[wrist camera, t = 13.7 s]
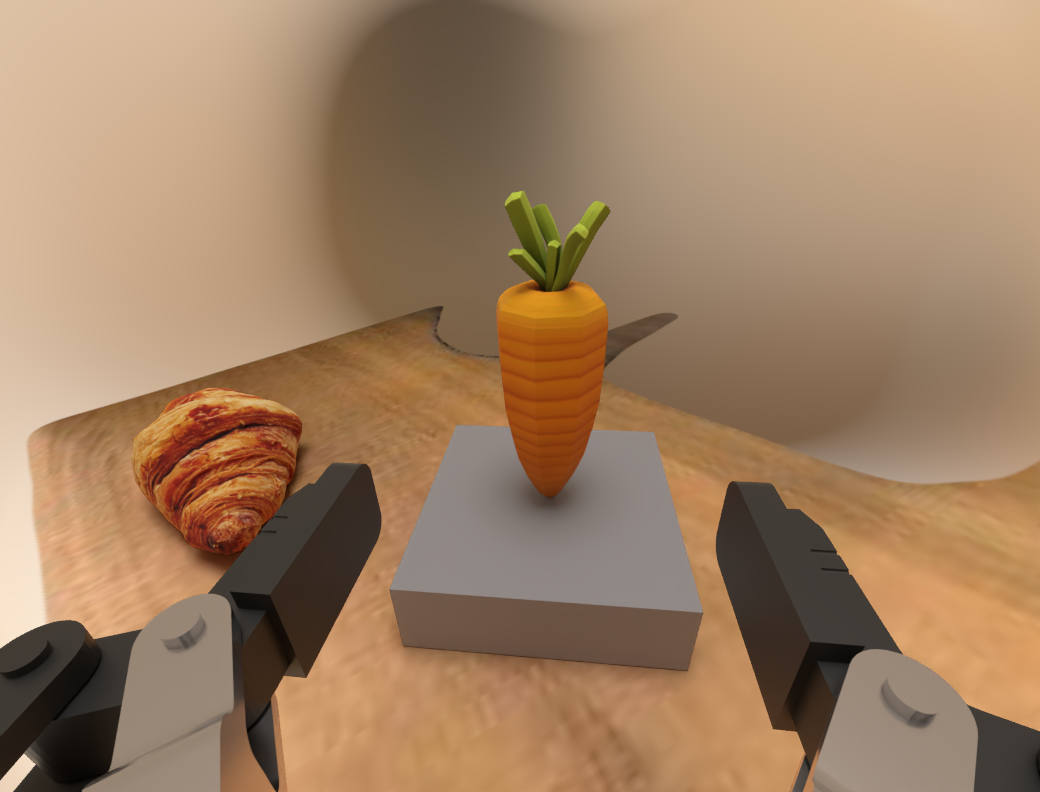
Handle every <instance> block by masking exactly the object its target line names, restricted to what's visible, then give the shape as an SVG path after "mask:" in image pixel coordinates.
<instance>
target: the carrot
mask: <svg viewBox="0 0 1040 792" xmlns="http://www.w3.org/2000/svg"><path fill="white" fill-rule="evenodd" d="M505 208H506V210H507V212H508V215H509V217H510V220H511V222H512V225H513V227H514V229H515V231H516V233H517V234H518V237H519V239H520V241H521V243H522V246H523V247H524V249H512V250H511V251H510V252H509V257H510V258H511V259H512V260H513V261H514V262H515V263H517V265H519V266H520V267H521V268H522V269H523V270H524V271H525V272H526V273H527V274H528V275H529V276H530V277H531V278H532V279H533V280H530V281H527V282H524V283H522V284H518V285H515V286H513V287H511V288H509V289H507V290H506V291H505V292H504V293H503V294H502V295H501V296H500V297H499V299H498V303H497V313H496V314H497V315H496V316H497V329H498V341H499V354H500V363H501V373H502V382H503V391H504V399H505V408H506V412H507V416H508V421H509V425H510V430H511V434H512V437H513V441H514V445H515V448H516V452H517V455H518V458H519V460H520V462H521V464H522V466H523V468H524V470H525V472H526V474H527V476H528V478H529V479H530V481H531V482H532V483H533V485H534V486H535V488H536V489H537V490H538V492H539V493H540V494H542V495H544V496H546V497H548V498H551V497H554V496H556V495H557V494H558V493H559V492H560V491H561V490H562V489H563V487H564V486H565V485H566V483H567V482H568V480H569V479H570V478H571V476H572V475H573V474H574V472H575V470H576V468H577V466H578V464H579V463H580V461H581V459H582V457H583V455H584V453H585V450H586V447H587V444H588V441H589V437H590V434H591V431H592V428H593V424H594V420H595V416H596V412H597V409H598V405H599V400H600V393H601V385H602V377H603V370H604V362H605V351H606V341H607V331H608V313H607V309H606V305H605V303H604V302H603V301H602V300H601V299H600V298H599V296H598V295H597V294H596V293H595V292H594V291H593V289H592V288H591V287H590V286H588V285H586V284H584V283H581V282H576V281H571V279H572V277H573V275H574V273H575V271H576V269H577V267H578V266H579V264H580V262H581V260H582V258H583V256H584V254H585V253H586V250H587V249H588V247H589V245H590V244H591V242H592V240H593V238H594V236H595V234H596V233H597V231H598V229H599V227H600V226H601V225H602V224H603V222H604V221H605V219H606V218H607V216H608V215H609V213H610V209H609V207H608V206H606V205H605V204H603V203H602V202H598V201H595V202H594V203H593V204H592V205H591V206H590V207H589V208H588V209H587V211H586V213H585V214H584V216H583V217H582V219H581V221H580V222H579V224H578V225H576V226H575V227H574V228H573V229H572V231H571V232H570V233H569V234H568V236H567V239H566V242H565V245H564V248H563V252H562V245H561V239H560V236H559V233H558V230H557V228H556V225H555V222H554V220H553V218H552V216H551V214H550V212H549V210H548V208H547V206H546V204H541V205H537V206H535V207H534V208H531V206H530V204H529V201H528V199H527V197H526V194H525V192H524V191H520V192H516V193H512V194H511V195H510V196H509V198H508V199H507V200H506V202H505ZM539 229H540V230H539ZM540 231H541V233H542V235H543V238H544V240H545V242H546V246H547V253H546V250H545V246H544V243H543V239H542V236H541V233H540Z"/></svg>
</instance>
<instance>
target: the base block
mask: <svg viewBox="0 0 1040 792" xmlns="http://www.w3.org/2000/svg"><path fill="white" fill-rule="evenodd" d="M389 590H390V594H391V598H392V602H393V606H394V610H395V614H396V619H397V623H398V627H399V631H400V635H401V639H402V643H403V646H410V647H422V648H433V649H445V650H456V651H468V652H479V653H491V654H502V655H514V656H525V657H537V658H548V659H559V660H571V661H582V662H594V663H605V664H617V665H628V666H640V667H651V668H663V669H674V670H686V671H688V667H689V664H690V660H691V656H692V652H693V649H694V645H695V641H696V638H697V634H698V630H699V626H700V623H701V619H702V615H703V610H702V607H701V603H700V599H699V596H698V592H697V588H696V585H695V581H694V577H693V574H692V570H691V566H690V563H689V559H688V555H687V552H686V548H685V544H684V541H683V537H682V534H681V530H680V526H679V523H678V519H677V515H676V512H675V508H674V504H673V501H672V497H671V493H670V490H669V486H668V482H667V479H666V475H665V471H664V468H663V464H662V460H661V457H660V453H659V449H658V446H657V442H656V438H655V435H654V432H637V431H610V430H592V431H591V434H590V437H589V441H588V444H587V447H586V450H585V453H584V455H583V457H582V459H581V461H580V463H579V464H578V466H577V468H576V470H575V472H574V474H573V475H572V476H571V478H570V479H569V480H568V482H567V483H566V485H565V486H564V487H563V489H562V490H561V491H560V492H559V493H558V494H557V495H556V496H554V497H551V498H548V497H546V496H544V495H542V494H540V493H539V492H538V490H537V489H536V488H535V486H534V485H533V483H532V482H531V481H530V479H529V478H528V476H527V474H526V472H525V470H524V468H523V466H522V464H521V462H520V460H519V458H518V455H517V452H516V448H515V445H514V441H513V437H512V434H511V430H510V427H500V426H472V425H457V426H456V428H455V430H454V433H453V435H452V438H451V440H450V443H449V445H448V448H447V450H446V452H445V455H444V457H443V460H442V462H441V465H440V467H439V469H438V472H437V474H436V477H435V479H434V482H433V484H432V487H431V489H430V491H429V494H428V496H427V499H426V501H425V504H424V506H423V509H422V511H421V513H420V516H419V518H418V521H417V523H416V526H415V528H414V530H413V533H412V535H411V538H410V540H409V543H408V545H407V548H406V550H405V552H404V555H403V557H402V560H401V562H400V565H399V567H398V569H397V572H396V574H395V577H394V579H393V582H392V584H391V587H390V589H389Z"/></svg>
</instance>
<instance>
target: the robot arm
mask: <svg viewBox="0 0 1040 792" xmlns="http://www.w3.org/2000/svg"><path fill="white" fill-rule="evenodd" d="M380 529H381V512H380V508H379V503H378V499H377V495H376V491H375V486H374V482H373V478H372V474H371V470H370V468H369V466H368V465H367V464H355V463H332V464H331V465H330V466H329V467H328V468H327V469H326V470H325V472H324V473H323V474H322V475H321V477H320V478H319V479H318V480H317V482H316V483H315V484H307V485H306V486H304V487H303V488H302V489H300V490H299V491H297V492H296V493H294V494H293V495H292V496H290V497H289V498H287V500H286V501H285V502H284V503H283V504H282V506H281V507H280V508H279V509H278V510H277V512H276V513H275V514H274V515H273V519H270V520H269V521H268V522H267V524H266V525H265V526H264V527H263V528H262V530H261V533H260V534H257V536H256V537H255V538H254V539H253V540H252V542H251V543H250V544H249V545H248V546H247V547H246V549H245V550H244V551H243V552H242V553H241V555H240V556H239V557H238V558H237V559H236V561H235V562H234V563H233V564H232V565H231V567H230V568H229V569H228V570H227V571H226V573H225V574H224V575H223V576H222V577H221V579H220V580H219V581H218V582H217V583H216V585H215V586H214V587H213V588H212V589H211V590H210V592H209V593H208V594H201V595H196V596H192V597H189V598H186V599H184V600H182V601H179V602H177V603H175V604H173V605H172V606H170V607H168V608H167V609H165V610H164V611H162V612H161V613H159V614H158V615H157V616H156V617H154V618H153V619H152V620H151V621H150V622H149V623H148V624H147V625H146V626H145V627H144V628H143V629H141V630H137V631H132V632H127V633H122V634H117V635H113V636H108V637H103V638H98V639H93V638H92V636H91V635H90V634H89V632H88V631H87V630H86V628H85V627H84V626H83V625H82V624H81V623H79V622H77V621H71V620H65V621H58V622H53V623H49V624H46V625H43V626H40V627H38V628H35V629H33V630H31V631H29V632H27V633H25V634H23V635H21V636H19V637H17V638H16V639H14V640H12V641H11V642H9V643H8V644H6V645H5V646H3V647H2V648H1V649H0V780H1V779H2V778H3V776H4V775H5V774H6V773H7V772H8V771H9V770H10V768H11V767H12V766H13V765H14V764H15V763H16V762H17V760H18V759H19V758H20V757H21V756H22V755H23V754H25V755H27V757H29V758H30V759H31V760H32V761H33V762H34V763H35V764H36V765H35V766H34V767H33V769H32V770H31V771H30V773H28V775H27V776H26V777H25V779H23V781H22V782H21V783H20V785H18V787H17V788H16V789H15V790H14V791H13V792H287V783H286V774H285V765H284V756H283V747H282V738H281V729H280V720H279V712H278V703H277V698H276V695H275V693H274V692H275V690H276V689H277V687H278V685H279V683H280V681H281V680H282V678H283V676H292V677H302V678H306V677H307V675H308V673H309V672H310V670H311V668H312V666H313V664H314V662H315V660H316V658H317V656H318V654H319V652H320V650H321V648H322V646H323V644H324V643H325V641H326V639H327V637H328V635H329V633H330V631H331V629H332V627H333V625H334V623H335V621H336V619H337V617H338V616H339V614H340V612H341V610H342V608H343V606H344V604H345V602H346V600H347V598H348V596H349V594H350V592H351V590H352V588H353V587H354V585H355V583H356V581H357V579H358V577H359V575H360V573H361V571H362V569H363V567H364V565H365V563H366V561H367V560H368V558H369V556H370V554H371V552H372V550H373V548H374V546H375V544H376V542H377V540H378V537H379V534H380ZM716 553H717V560H718V564H719V567H720V570H721V573H722V576H723V579H724V582H725V585H726V588H727V591H728V594H729V597H730V600H731V603H732V606H733V609H734V613H735V616H736V619H737V622H738V625H739V628H740V631H741V634H742V637H743V640H744V643H745V646H746V649H747V652H748V655H749V658H750V661H751V664H752V667H753V670H754V673H755V676H756V679H757V682H758V685H759V688H760V691H761V694H762V697H763V700H764V703H765V706H766V709H767V712H768V715H769V718H770V721H771V724H772V727H773V729H777V730H786V731H796V732H798V735H799V738H800V740H801V743H802V746H803V748H804V751H805V753H804V755H803V757H802V759H801V761H800V764H799V767H798V770H797V772H796V775H795V778H794V781H793V783H792V786H791V789H790V792H1040V731H1037V730H1034V729H1031V728H1029V727H1026V726H1023V725H1020V724H1017V723H1015V722H1012V721H1009V720H1006V719H1003V718H1001V717H998V716H995V715H992V714H989V713H987V712H984V711H981V710H979V709H976V708H974V707H971V706H969V705H967V704H966V703H965V701H964V700H963V699H962V698H961V696H960V695H959V694H958V693H957V692H956V691H955V690H954V689H953V688H952V687H951V686H950V685H949V684H948V683H947V682H946V681H945V680H944V679H943V678H941V677H940V676H939V675H938V674H936V673H935V672H934V671H932V670H931V669H929V668H928V667H926V666H925V665H923V664H921V663H919V662H918V661H916V660H914V659H911V658H909V657H907V656H905V655H903V654H902V652H901V651H900V650H899V648H898V647H897V645H896V643H895V642H894V640H893V639H892V637H891V636H890V634H889V632H888V631H887V629H886V628H885V626H884V625H883V623H882V621H881V620H880V618H879V617H878V615H877V614H876V612H875V610H874V609H873V607H872V606H871V604H870V603H869V601H868V599H867V598H866V596H865V595H864V593H863V592H862V590H861V588H860V587H859V585H858V584H857V582H856V580H855V579H854V577H853V576H852V575H849V572H848V571H849V569H848V568H847V566H846V565H845V563H844V562H843V560H842V558H841V557H840V555H837V551H836V549H835V547H834V546H833V544H832V543H831V541H830V540H829V538H828V536H827V535H826V533H825V532H824V530H823V529H822V528H821V527H820V526H819V525H818V524H816V523H815V522H814V521H813V520H812V519H810V518H809V517H808V516H807V515H806V514H804V513H803V512H802V511H801V510H800V509H787V508H786V507H785V505H784V503H783V501H782V500H781V498H780V496H779V494H778V493H777V491H776V489H775V488H774V486H773V485H772V484H770V483H758V482H736V481H732V482H730V484H729V485H728V488H727V492H726V496H725V500H724V505H723V509H722V513H721V518H720V522H719V526H718V531H717V536H716Z"/></svg>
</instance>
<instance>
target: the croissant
mask: <svg viewBox="0 0 1040 792" xmlns="http://www.w3.org/2000/svg"><path fill="white" fill-rule="evenodd" d="M301 432H302V422H301V420H300V419H299V417H298V416H297V415H296V414H295V413H294V412H293V411H291V410H290V409H288V408H286V407H285V406H283V405H282V404H279V403H277V402H275V401H269V400H264V399H262V398H260V397H257V396H253V395H248V394H243V393H240V392H238V391H235V390H232V389H228V388H207V389H204V390H201V391H199V392H195V393H191V394H188V395H185V396H182V397H179V398H177V399H174V400H173V401H172V402H170V403H169V404H168V405H167V406H166V408H165V410H164V412H162V413H161V415H160V417H159V418H158V419H156V420H155V421H154V422H153V423H151V424H150V425H149V427H148V428H146V429H144V430H143V431H141V432H140V433H139V434H138V435H137V436H136V437H135V438H134V443H133V454H132V464H133V470H134V475H135V480H136V483H137V485H138V486H139V488H140V490H141V491H142V492H143V494H144V495H145V496H146V497H147V499H148V500H149V501H150V502H151V503H152V504H154V505H155V506H156V507H157V508H158V509H159V511H160V512H161V513H162V514H163V515H164V517H165V518H166V519H167V521H169V522H170V523H171V524H172V525H173V526H174V527H175V528H177V529H178V530H179V531H181V532H182V533H183V535H184V538H185V540H186V541H187V542H188V543H189V544H190V545H191V546H192V547H195V548H199V549H202V550H205V551H208V552H215V553H219V554H224V555H230V554H232V553H234V552H237V551H240V550H242V548H245V547H247V546H248V545H249V544H250V543H251V542H252V540H253V539H254V538H255V537H256V536H257V534H258V531H260V530H261V526H262V524H264V523H266V522H267V521H268V520H269V519H271V518H272V517H273V515H274V514H275V513H276V512H277V510H278V509H279V508H280V507H281V504H282V502H283V500H284V496H285V492H286V485H288V484H289V483H290V481H291V480H292V477H293V475H294V472H295V468H296V456H297V450H298V446H299V443H298V442H299V439H300V436H301Z"/></svg>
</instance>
